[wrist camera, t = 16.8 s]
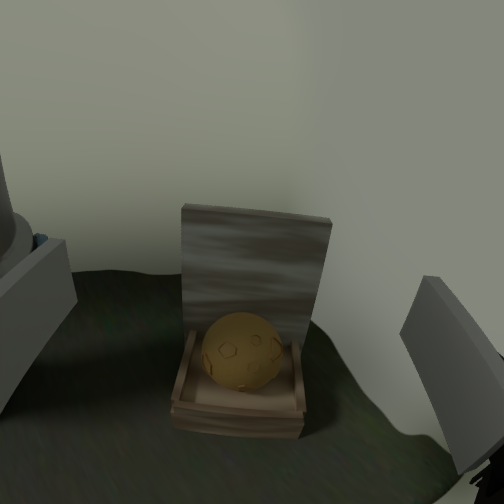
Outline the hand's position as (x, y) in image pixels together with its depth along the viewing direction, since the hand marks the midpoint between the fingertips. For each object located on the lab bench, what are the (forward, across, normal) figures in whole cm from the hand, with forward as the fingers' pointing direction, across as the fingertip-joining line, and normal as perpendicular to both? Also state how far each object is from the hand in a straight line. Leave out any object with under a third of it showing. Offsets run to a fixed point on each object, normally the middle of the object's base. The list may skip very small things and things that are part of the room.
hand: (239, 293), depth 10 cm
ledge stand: (+18, +1, -30) cm, 35 cm away
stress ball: (+18, 0, -26) cm, 32 cm away
